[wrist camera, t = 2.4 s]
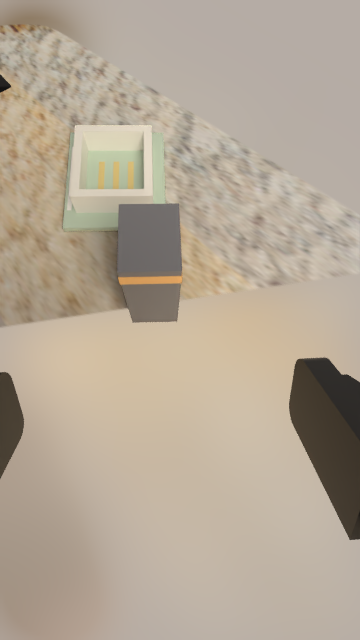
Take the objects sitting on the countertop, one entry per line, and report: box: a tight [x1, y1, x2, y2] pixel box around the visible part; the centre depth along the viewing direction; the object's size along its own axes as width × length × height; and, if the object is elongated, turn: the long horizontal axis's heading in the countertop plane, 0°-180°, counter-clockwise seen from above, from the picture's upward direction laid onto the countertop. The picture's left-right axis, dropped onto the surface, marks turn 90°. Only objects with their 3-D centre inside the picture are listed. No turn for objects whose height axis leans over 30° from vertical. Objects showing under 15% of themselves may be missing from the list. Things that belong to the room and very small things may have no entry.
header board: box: [63, 125, 165, 232], centre depth 33 cm, size 10×12×3 cm
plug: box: [117, 204, 182, 322], centre depth 26 cm, size 4×5×10 cm
